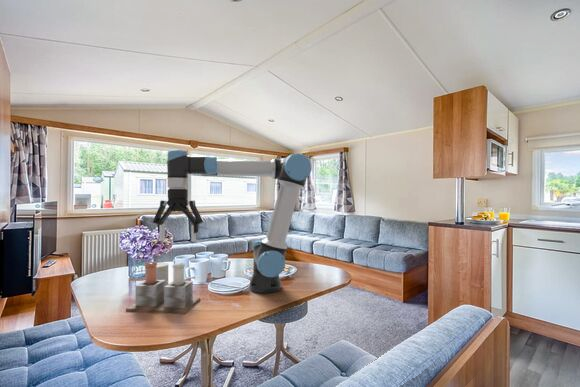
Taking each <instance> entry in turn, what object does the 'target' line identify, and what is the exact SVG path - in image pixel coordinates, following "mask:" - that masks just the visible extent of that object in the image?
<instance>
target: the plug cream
mask: <svg viewBox="0 0 580 387" xmlns="http://www.w3.org/2000/svg"><path fill="white" fill-rule="evenodd" d="M185 265H186V264H185V263H184V262H177V263H173V264H172V268H173V272H172V273H173V276H172V277H173V281H172V282H173V286H183V285H184V281H185V267H186V266H185Z"/></svg>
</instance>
